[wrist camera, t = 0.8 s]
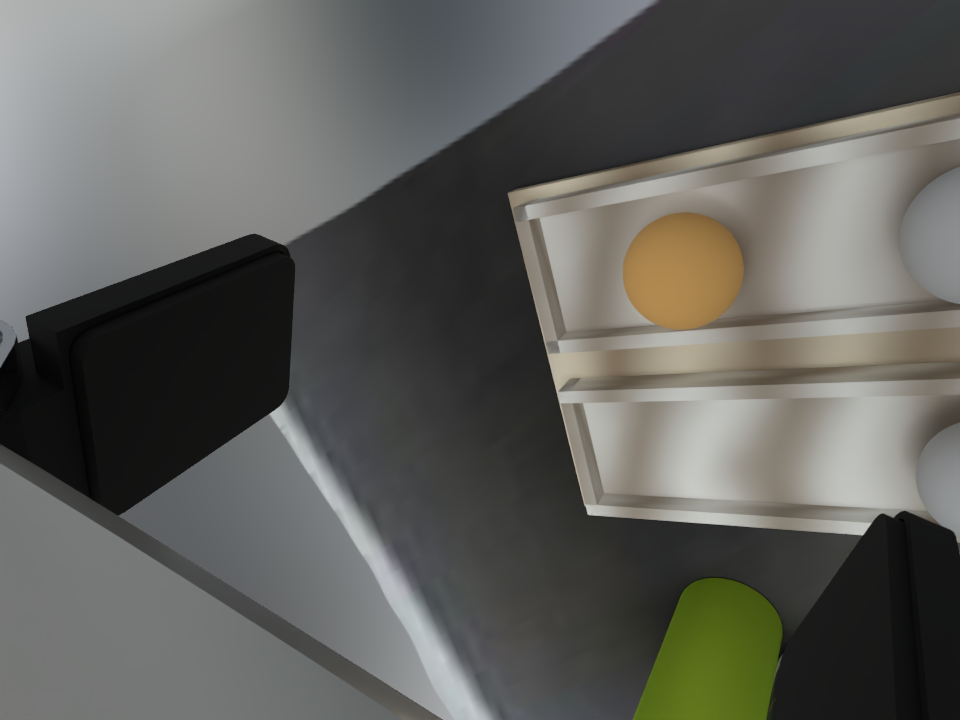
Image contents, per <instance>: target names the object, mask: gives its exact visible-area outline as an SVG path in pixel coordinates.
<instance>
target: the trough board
mask: <svg viewBox="0 0 960 720" xmlns="http://www.w3.org/2000/svg"><path fill="white" fill-rule="evenodd" d="M957 167H960V92H958V93H954V94H949V95H945V96H940V97H936V98H931V99H926V100H922V101H917V102H913V103H908V104H904V105H899V106H894V107H890V108H885V109H881V110H876V111H871V112H867V113H862V114H858V115H853V116H849V117H844V118H839V119H835V120H830V121H826V122H821V123H817V124H812V125H807V126H803V127H798V128H794V129H789V130H785V131H780V132H775V133H771V134H766V135H762V136H757V137H753V138H748V139H743V140H739V141H734V142H730V143H725V144H720V145H716V146H711V147H707V148H702V149H698V150H693V151H688V152H684V153H679V154H675V155H670V156H666V157H661V158H656V159H652V160H647V161H643V162H638V163H634V164H629V165H624V166H620V167H615V168H611V169H606V170H601V171H597V172H592V173H588V174H583V175H579V176H574V177H569V178H565V179H560V180H556V181H551V182H547V183H542V184H537V185H533V186H528V187H524V188H519V189H515V190H513V191H511V192H509V193H508V196H509V200H510V204H511V208H512V212H513V217H514V221H515V225H516V229H517V233H518V237H519V241H520V245H521V249H522V253H523V257H524V261H525V265H526V269H527V273H528V277H529V282H530V286H531V290H532V294H533V298H534V302H535V306H536V310H537V314H538V318H539V322H540V326H541V330H542V334H543V338H544V342H545V347H546V351H547V355H548V359H549V363H550V367H551V371H552V375H553V379H554V383H555V387H556V391H557V395H558V399H559V403H560V407H561V411H562V416H563V420H564V424H565V428H566V432H567V436H568V440H569V444H570V448H571V452H572V456H573V460H574V464H575V468H576V472H577V476H578V481H579V485H580V489H581V493H582V497H583V501H584V505H585V506H586V509H587V513H588V515H597V516H610V517H624V518H637V519H651V520H664V521H678V522H691V523H705V524H718V525H732V526H745V527H759V528H773V529H786V530H800V531H813V532H827V533H840V534H854V535H864V533H865V532H866V531H867V529H868V528H869V526H870V525H871V523H872V522H873V521H874V519H875V518H876V517H877V516H878V515H880V514H882V513H884V514H886V515H888V516H891V517H893V518H894V517H895V516H896V515H897V514H898V513H899V512H901V511H908V512H910V513H912V514H915V515H917V516H919V517H922V518H924V519H926V520H929V521H931V522H933V523H936V524H938V525H940V524H939V523H938V522H937V521H936V520H935V519H934V518H933V517H932V516H931V515H930V513H929V512H928V511H927V509H926V508H925V506H924V504H923V502H922V501H921V498H920V496H919V493H918V490H917V484H916V467H917V462H918V460H919V457H920V455H921V452H922V451H923V449H924V447H925V446H926V445H927V443H928V442H929V441H930V440H931V439H932V438H933V437H934V436H935V435H936V434H938V433H939V432H941V431H942V430H944V429H945V428H947V427H949V426H951V425H954V424H957V423H959V422H960V304H956V303H952V302H949V301H945V300H943V299H940V298H938V297H936V296H934V295H932V294H931V293H929V292H927V291H926V290H925V289H924V288H922V287H921V286H920V285H919V284H918V283H917V282H916V281H915V280H914V279H913V278H912V277H911V275H910V274H909V273H908V271H907V269H906V267H905V265H904V263H903V260H902V257H901V254H900V248H899V234H900V228H901V224H902V221H903V218H904V215H905V213H906V211H907V209H908V207H909V206H910V204H911V203H912V201H913V200H914V198H915V197H916V196H917V195H918V194H919V193H920V191H922V190H923V189H924V188H925V187H926V186H927V185H928V184H929V183H931V182H932V181H933V180H935V179H936V178H938V177H939V176H941V175H943V174H944V173H946V172H948V171H950V170H953V169H955V168H957ZM674 213H697V214H701V215H704V216H707V217H710V218H712V219H714V220H716V221H717V222H719V223H720V224H722V225H723V226H724V227H725V228H726V229H727V230H728V231H729V232H730V233H731V234H732V235H733V237H734V238H735V239H736V241H737V243H738V245H739V247H740V250H741V253H742V257H743V264H744V275H743V281H742V285H741V288H740V291H739V293H738V295H737V297H736V299H735V301H734V302H733V303H732V305H731V306H730V307H729V308H728V309H727V310H726V311H725V312H724V313H723V314H722V315H721V316H720V317H718V318H717V319H715V320H714V321H712V322H710V323H708V324H706V325H704V326H701V327H697V328H693V329H685V330H677V329H669V328H665V327H662V326H659V325H657V324H655V323H652V322H651V321H649V320H648V319H646V318H645V317H644V316H642V315H641V314H640V313H639V312H638V311H637V310H636V309H635V307H634V306H633V305H632V303H631V302H630V300H629V298H628V296H627V294H626V291H625V287H624V283H623V263H624V259H625V255H626V253H627V250H628V248H629V246H630V244H631V243H632V241H633V239H634V238H635V237H636V236H637V234H638V233H639V232H640V231H641V230H642V229H643V228H644V227H646V226H647V225H648V224H650V223H651V222H653V221H655V220H657V219H659V218H661V217H663V216H666V215H670V214H674ZM940 526H941V525H940ZM955 536H956V535H955ZM956 539H957V542H960V537H958V536H956Z"/></svg>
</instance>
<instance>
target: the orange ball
mask: <svg viewBox="0 0 960 720" xmlns="http://www.w3.org/2000/svg"><path fill="white" fill-rule="evenodd" d="M743 275H744V264H743V257H742V253H741V250H740V247H739V245H738V243H737V241H736V239H735V238H734V237H733V235H732V234H731V233H730V232H729V231H728V230H727V229H726V228H725V227H724V226H723V225H722V224H720V223H719V222H717V221H716V220H714V219H712V218H710V217H707V216H704V215H701V214H697V213H674V214H670V215H666V216H663V217H661V218H659V219H657V220H655V221H653V222H651V223H650V224H648V225H647V226H646V227H644V228H643V229H642V230H641V231H640V232H639V233H638V234H637V236H636V237H635V238H634V239H633V241H632V243H631V244H630V246H629V248H628V250H627V253H626V255H625V259H624V263H623V283H624V287H625V291H626V294H627V296H628V298H629V300H630V302H631V303H632V305H633V306H634V307H635V309H636V310H637V311H638V312H639V313H640V314H641V315H642V316H644V317H645V318H646V319H648V320H649V321H651V322H652V323H655V324H657V325H659V326H662V327H665V328H669V329H677V330H685V329H693V328H697V327H701V326H704V325H706V324H708V323H710V322H712V321H714V320H715V319H717V318H718V317H720V316H721V315H722V314H723V313H724V312H725V311H726V310H727V309H728V308H729V307H730V306H731V305H732V303H733V302H734V301H735V299H736V297H737V295H738V293H739V291H740V288H741V285H742V281H743Z"/></svg>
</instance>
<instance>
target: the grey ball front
mask: <svg viewBox="0 0 960 720" xmlns="http://www.w3.org/2000/svg"><path fill="white" fill-rule="evenodd" d="M899 248H900V254H901V257H902V260H903V263H904V265H905V267H906V269H907V271H908V273H909V274H910V275H911V277H912V278H913V279H914V280H915V281H916V282H917V283H918V284H919V285H920V286H921V287H922V288H924V289H925V290H926V291H927V292H929V293H931V294H932V295H934V296H936V297H938V298H940V299H943V300H945V301H949V302H952V303H956V304H960V167H957V168H955V169H953V170H950V171H948V172H946V173H944V174H943V175H941V176H939V177H938V178H936V179H935V180H933V181H932V182H931V183H929V184H928V185H927V186H926V187H925V188H924V189H923V190H922V191H920V193H919V194H918V195H917V196H916V197H915V198H914V200H913V201H912V203H911V204H910V206H909V207H908V209H907V211H906V213H905V215H904V218H903V221H902V224H901V228H900V234H899Z"/></svg>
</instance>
